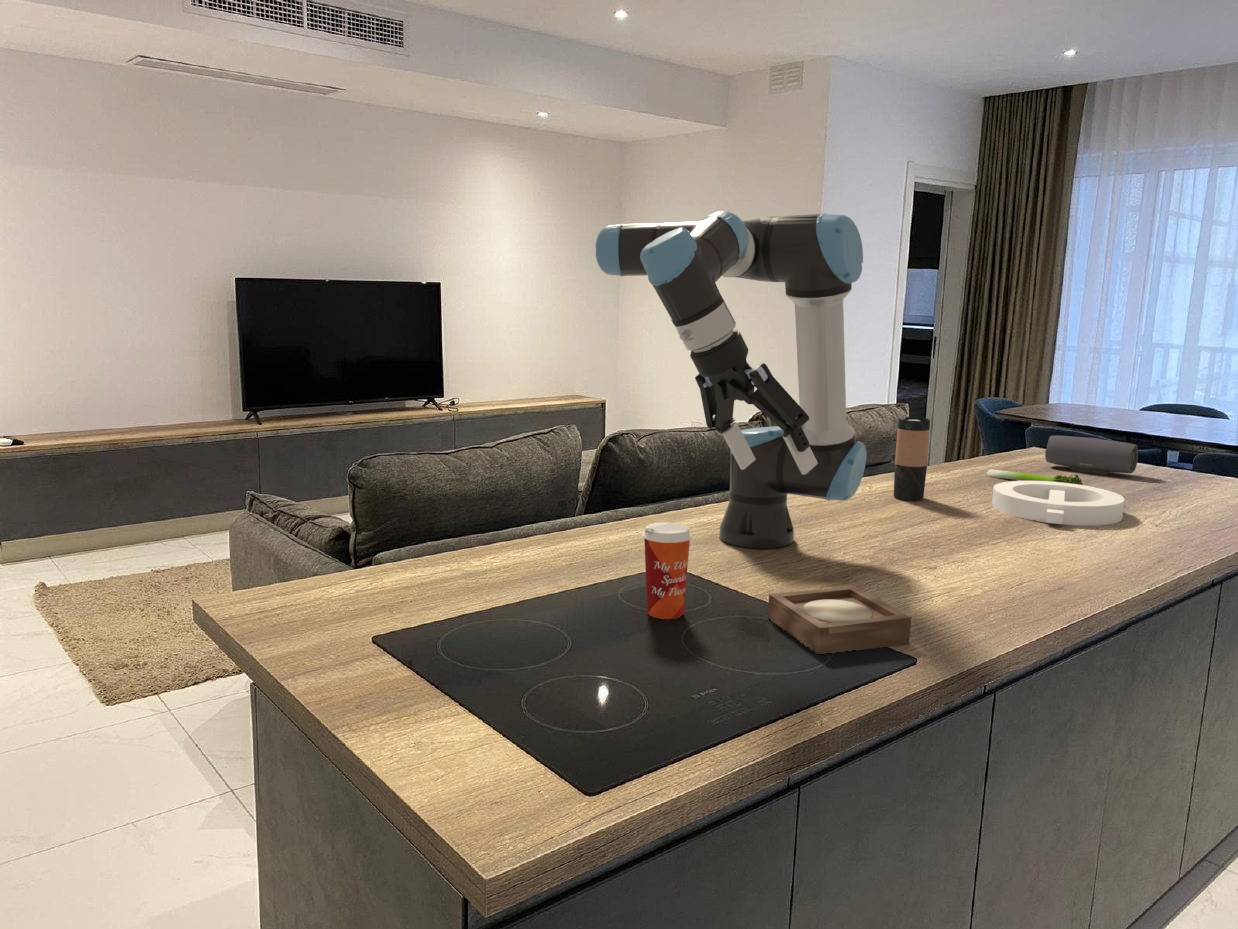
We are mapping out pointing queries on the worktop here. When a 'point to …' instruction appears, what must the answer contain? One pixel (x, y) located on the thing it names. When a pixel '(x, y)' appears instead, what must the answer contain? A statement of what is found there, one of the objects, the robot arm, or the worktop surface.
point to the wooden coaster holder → (839, 619)
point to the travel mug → (911, 458)
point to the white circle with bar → (1058, 502)
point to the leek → (1032, 477)
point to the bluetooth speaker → (1092, 454)
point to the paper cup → (666, 568)
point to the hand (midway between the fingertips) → (777, 466)
